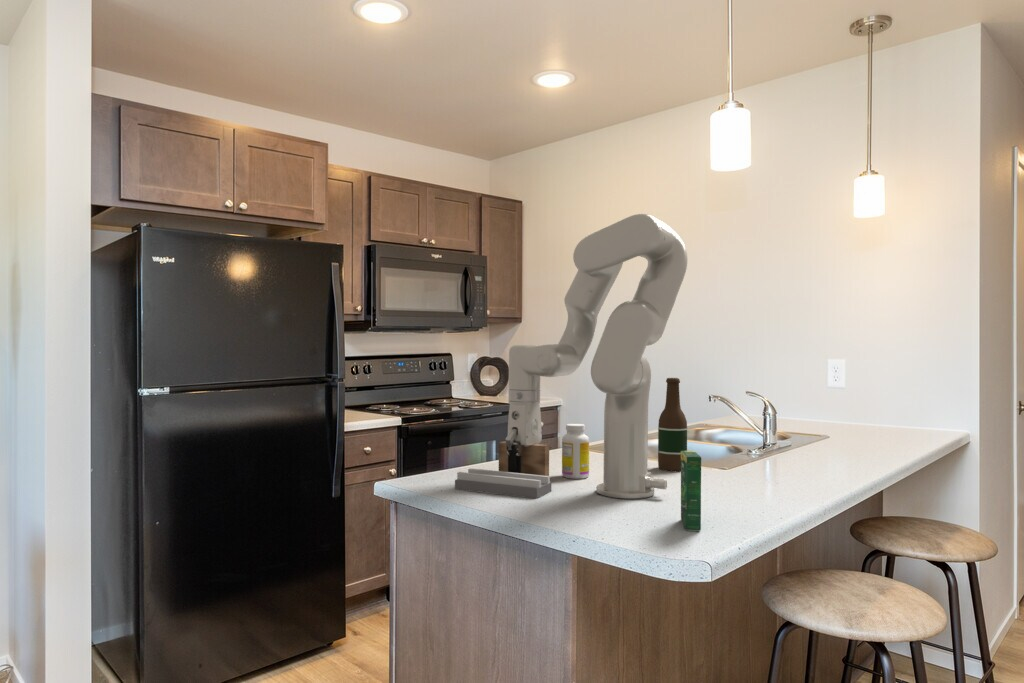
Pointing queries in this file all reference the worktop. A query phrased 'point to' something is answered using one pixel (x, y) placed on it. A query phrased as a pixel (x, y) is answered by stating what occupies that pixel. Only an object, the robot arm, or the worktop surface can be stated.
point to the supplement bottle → (575, 452)
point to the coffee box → (691, 490)
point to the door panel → (527, 459)
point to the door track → (503, 483)
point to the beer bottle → (671, 430)
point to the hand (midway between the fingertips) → (523, 469)
